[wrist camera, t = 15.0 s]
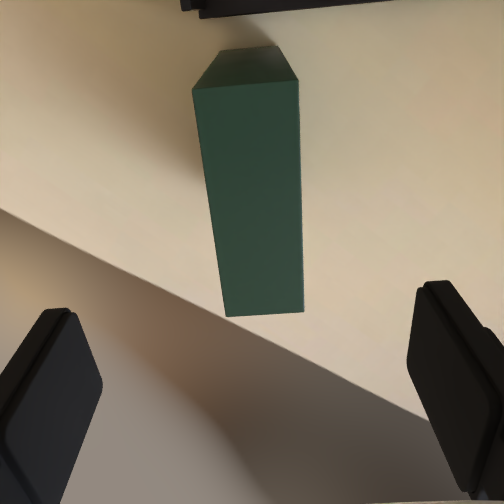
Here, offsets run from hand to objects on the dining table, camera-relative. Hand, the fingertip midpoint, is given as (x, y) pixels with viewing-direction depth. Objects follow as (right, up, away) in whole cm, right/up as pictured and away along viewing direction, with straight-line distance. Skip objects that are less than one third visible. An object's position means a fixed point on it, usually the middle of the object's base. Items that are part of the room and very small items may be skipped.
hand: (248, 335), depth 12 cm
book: (0, +12, +20) cm, 23 cm away
